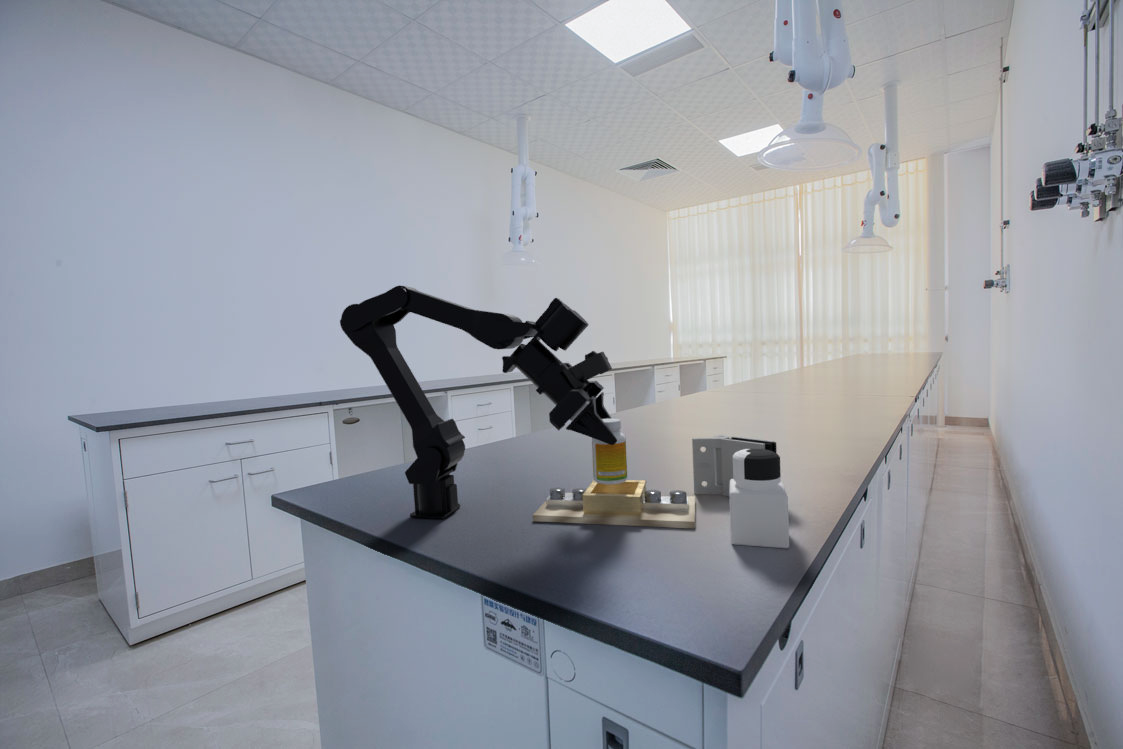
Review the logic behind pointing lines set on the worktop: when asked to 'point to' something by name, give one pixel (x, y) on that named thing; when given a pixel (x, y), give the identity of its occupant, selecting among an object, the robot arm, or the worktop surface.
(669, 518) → the board
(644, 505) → the bottle holder fixture
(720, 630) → the worktop surface
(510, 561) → the worktop surface
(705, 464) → the hinge
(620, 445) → the supplement bottle
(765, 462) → the medicine bottle
